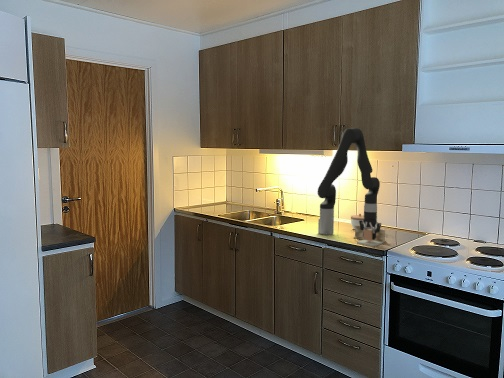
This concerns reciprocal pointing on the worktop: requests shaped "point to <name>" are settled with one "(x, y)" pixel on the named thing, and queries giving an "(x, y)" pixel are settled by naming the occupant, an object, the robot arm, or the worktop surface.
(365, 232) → the terracotta block
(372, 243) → the pale green pad
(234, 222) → the worktop surface
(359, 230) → the birch screen
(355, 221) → the lidded bowl
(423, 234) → the worktop surface
